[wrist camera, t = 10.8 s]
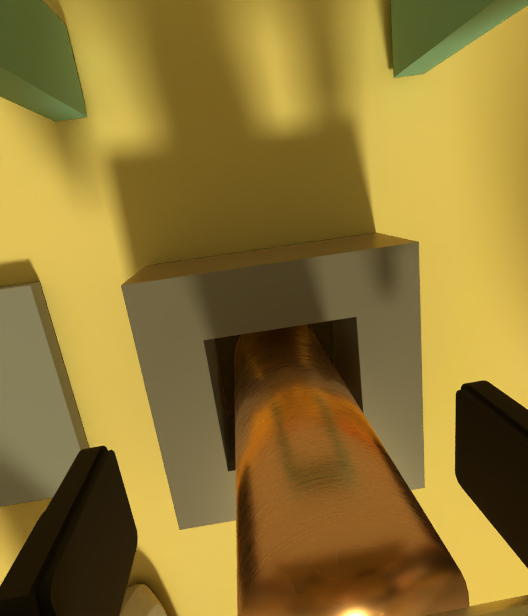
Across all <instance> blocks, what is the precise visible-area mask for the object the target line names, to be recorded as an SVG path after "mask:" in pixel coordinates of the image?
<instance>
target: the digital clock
mask: <svg viewBox="0 0 528 616" xmlns="http://www.w3.org/2000/svg"><path fill="white" fill-rule="evenodd" d="M120 616H167V614H166V612H165V610H164V608H163V606H162V605H161V603H160V602H159V600H158V599H157V597H156V596H155V595H154V593H153V592H152V591H151V590H150V588H148V587H147V586H146V585H144V584H135V585H133V586H130V587H129V588H127V589H126V592H125V596H124V600H123V604H122V608H121V612H120Z"/></svg>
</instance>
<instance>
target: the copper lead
mask: <svg viewBox="0 0 528 616" xmlns="http://www.w3.org/2000/svg"><path fill="white" fill-rule="evenodd" d="M234 385H235V459H236V534H237V608H238V616H424V615H429V614H434V613H439V612H444V611H449V610H454V609H459V608H464V607H469V595H468V590H467V586H466V582H465V580H464V577H463V575H462V573H461V571H460V569H459V568H458V566H457V565H456V563H455V561H454V560H453V558H452V556H451V555H450V553H449V552H448V550H447V548H446V547H445V545H444V543H443V542H442V540H441V539H440V537H439V535H438V534H437V532H436V530H435V529H434V527H433V526H432V524H431V522H430V521H429V519H428V517H427V516H426V514H425V513H424V511H423V509H422V508H421V506H420V505H419V503H418V501H417V500H416V498H415V496H414V495H413V493H412V492H411V490H410V488H409V487H408V485H407V483H406V482H405V480H404V479H403V477H402V475H401V474H400V472H399V470H398V469H397V467H396V466H395V464H394V462H393V461H392V459H391V457H390V456H389V454H388V453H387V451H386V449H385V448H384V446H383V444H382V443H381V441H380V440H379V438H378V436H377V435H376V433H375V432H374V430H373V428H372V427H371V425H370V423H369V422H368V420H367V419H366V417H365V415H364V414H363V412H362V410H361V409H360V407H359V406H358V404H357V402H356V401H355V399H354V397H353V396H352V394H351V393H350V391H349V389H348V388H347V386H346V384H345V383H344V381H343V380H342V378H341V376H340V375H339V373H338V371H337V370H336V368H335V367H334V365H333V363H332V362H331V360H330V359H329V357H328V355H327V354H326V352H325V350H324V349H323V347H322V346H321V344H320V342H319V341H318V339H317V337H316V336H315V334H314V333H313V331H312V330H311V329H310V328H309V327H308V326H307V325H300V326H293V327H287V328H280V329H274V330H267V331H261V332H254V333H247V334H241V335H240V337H239V339H238V341H237V343H236V346H235V351H234Z"/></svg>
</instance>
